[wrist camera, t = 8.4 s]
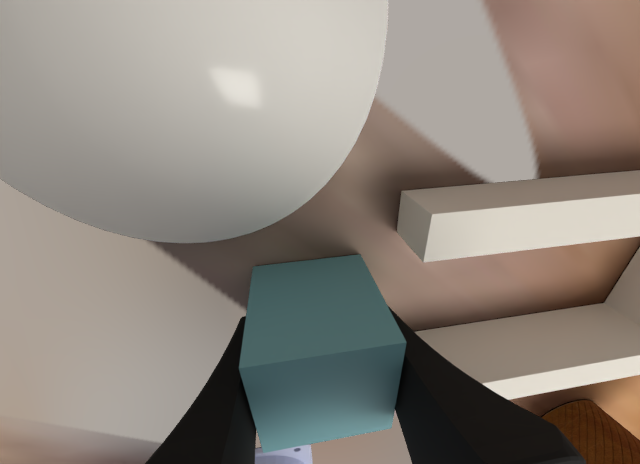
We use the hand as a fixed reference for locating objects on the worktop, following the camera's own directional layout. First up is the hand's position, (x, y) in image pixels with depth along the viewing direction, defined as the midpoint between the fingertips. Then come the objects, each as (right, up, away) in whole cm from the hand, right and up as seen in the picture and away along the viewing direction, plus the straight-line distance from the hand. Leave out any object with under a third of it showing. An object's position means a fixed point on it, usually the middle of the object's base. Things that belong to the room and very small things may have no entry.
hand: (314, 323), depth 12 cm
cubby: (+12, +2, +3) cm, 13 cm away
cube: (0, +1, +1) cm, 1 cm away
